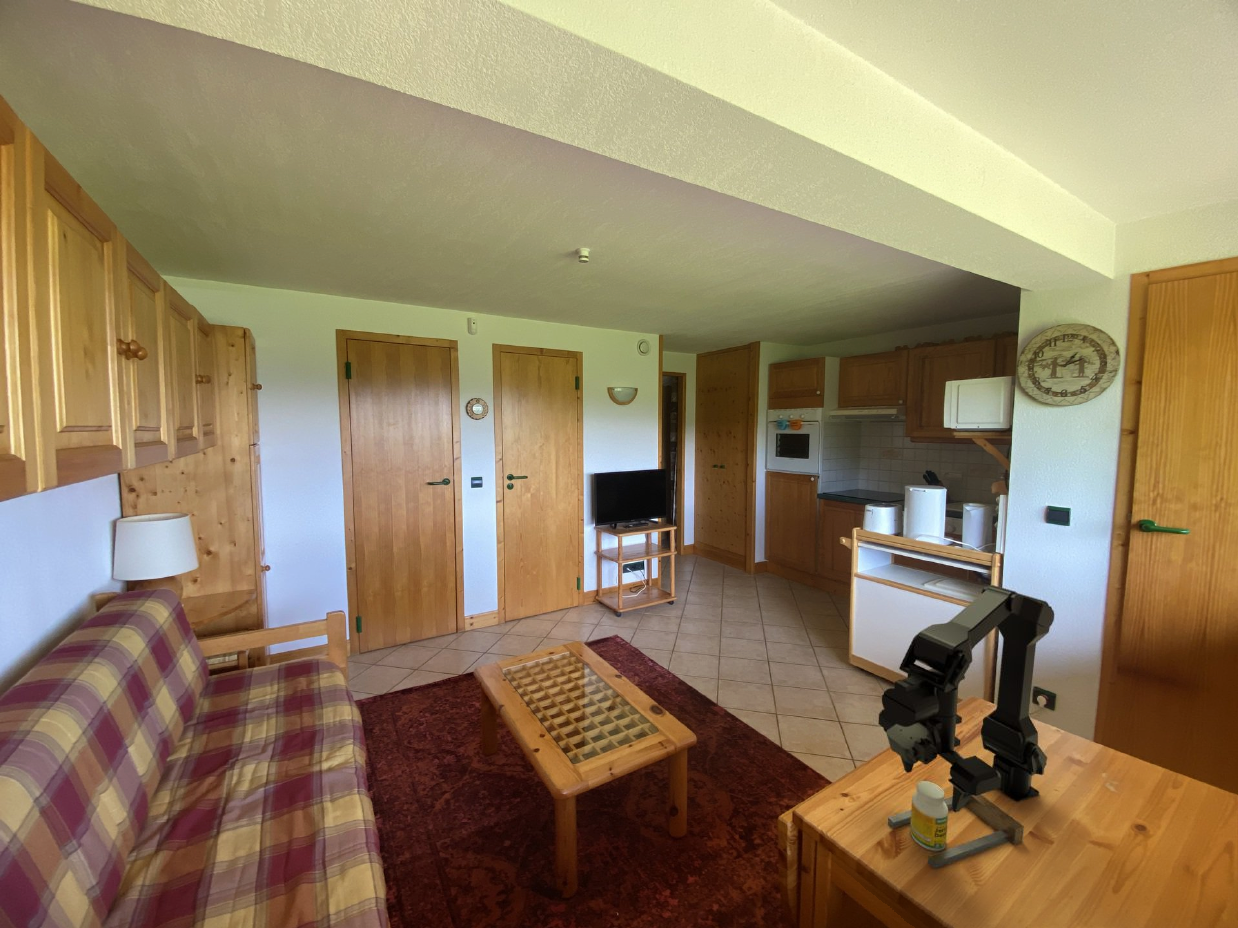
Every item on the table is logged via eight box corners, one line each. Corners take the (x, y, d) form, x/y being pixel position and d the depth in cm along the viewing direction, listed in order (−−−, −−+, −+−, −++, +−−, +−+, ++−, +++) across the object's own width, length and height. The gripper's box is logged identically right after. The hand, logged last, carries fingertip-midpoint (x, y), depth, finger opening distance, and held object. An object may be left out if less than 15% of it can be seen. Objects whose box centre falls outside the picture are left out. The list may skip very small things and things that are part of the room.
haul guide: (961, 794, 95) (962, 780, 95) (1022, 841, 85) (1023, 826, 85) (884, 819, 90) (884, 804, 90) (938, 873, 80) (939, 856, 79)
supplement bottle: (919, 820, 90) (922, 772, 88) (951, 842, 85) (955, 791, 84) (903, 835, 87) (906, 785, 86) (936, 858, 82) (940, 806, 81)
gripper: (856, 685, 90) (852, 763, 91) (951, 753, 72) (945, 849, 74) (904, 675, 93) (899, 750, 95) (1006, 737, 75) (999, 829, 77)
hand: (930, 790), depth 85 cm, fingers open, 9 cm apart
